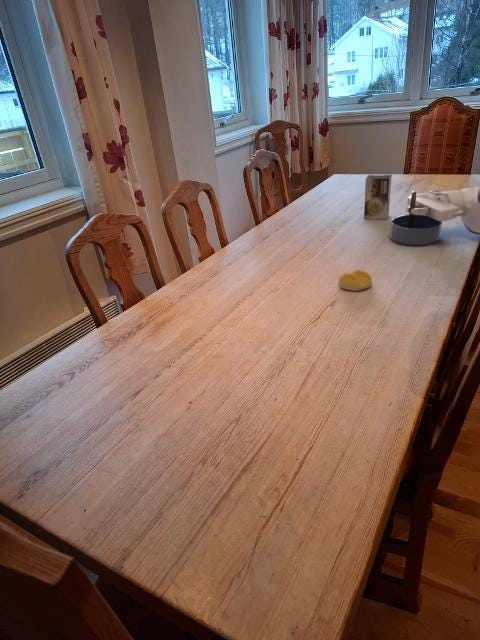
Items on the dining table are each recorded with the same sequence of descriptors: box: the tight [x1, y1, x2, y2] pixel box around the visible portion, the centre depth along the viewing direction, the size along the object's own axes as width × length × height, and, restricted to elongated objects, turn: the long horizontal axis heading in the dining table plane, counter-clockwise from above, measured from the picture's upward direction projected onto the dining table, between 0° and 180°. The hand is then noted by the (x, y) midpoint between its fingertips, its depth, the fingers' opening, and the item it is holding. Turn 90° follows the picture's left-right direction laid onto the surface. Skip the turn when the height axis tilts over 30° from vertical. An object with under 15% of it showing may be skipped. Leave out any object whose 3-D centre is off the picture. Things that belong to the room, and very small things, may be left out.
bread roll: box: [338, 269, 373, 292], centre depth 121 cm, size 8×9×4 cm
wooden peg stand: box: [408, 190, 417, 229], centre depth 145 cm, size 6×6×15 cm
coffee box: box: [363, 173, 393, 220], centre depth 170 cm, size 9×6×16 cm
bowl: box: [389, 214, 443, 247], centre depth 148 cm, size 16×16×6 cm
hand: (409, 210), depth 144 cm, fingers closed on wooden peg stand
